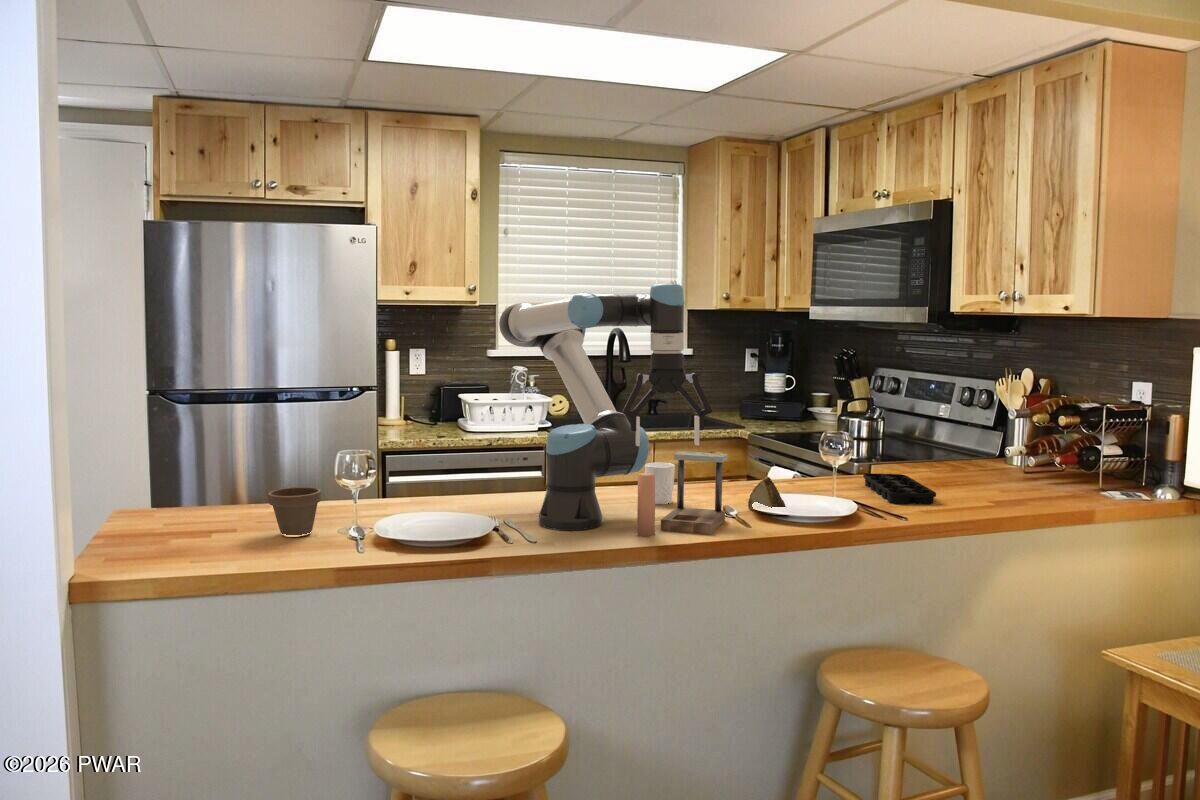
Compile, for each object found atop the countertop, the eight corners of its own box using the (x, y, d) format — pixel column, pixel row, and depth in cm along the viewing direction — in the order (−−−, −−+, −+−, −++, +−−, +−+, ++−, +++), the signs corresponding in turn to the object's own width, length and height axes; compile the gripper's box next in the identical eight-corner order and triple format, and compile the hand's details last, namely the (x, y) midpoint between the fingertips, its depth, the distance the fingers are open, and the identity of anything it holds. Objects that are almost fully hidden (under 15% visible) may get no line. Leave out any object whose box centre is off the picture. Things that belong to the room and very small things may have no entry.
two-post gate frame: (673, 510, 243) (674, 454, 242) (678, 506, 248) (679, 451, 247) (721, 514, 239) (722, 457, 238) (725, 509, 244) (727, 454, 243)
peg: (634, 535, 228) (635, 475, 226) (640, 531, 231) (640, 472, 230) (651, 537, 226) (652, 476, 225) (656, 533, 230) (657, 473, 229)
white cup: (674, 499, 268) (675, 462, 267) (673, 505, 261) (674, 467, 260) (645, 498, 269) (645, 462, 268) (643, 504, 261) (644, 467, 260)
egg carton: (898, 484, 295) (899, 472, 295) (956, 505, 266) (956, 491, 265) (844, 486, 291) (844, 473, 291) (895, 508, 262) (896, 494, 262)
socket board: (660, 530, 233) (660, 519, 233) (677, 516, 247) (677, 506, 247) (711, 534, 229) (711, 523, 229) (724, 520, 243) (725, 510, 243)
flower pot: (258, 535, 225) (257, 491, 224) (302, 526, 234) (301, 484, 233) (287, 543, 218) (286, 498, 217) (332, 534, 226) (331, 490, 225)
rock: (736, 499, 258) (747, 502, 248) (755, 472, 258) (766, 474, 249) (769, 524, 259) (781, 528, 249) (787, 497, 259) (800, 500, 250)
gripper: (613, 353, 222) (613, 447, 224) (724, 352, 224) (724, 446, 225) (611, 352, 230) (612, 443, 232) (719, 351, 231) (718, 442, 233)
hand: (667, 445), depth 228 cm, fingers open, 13 cm apart
